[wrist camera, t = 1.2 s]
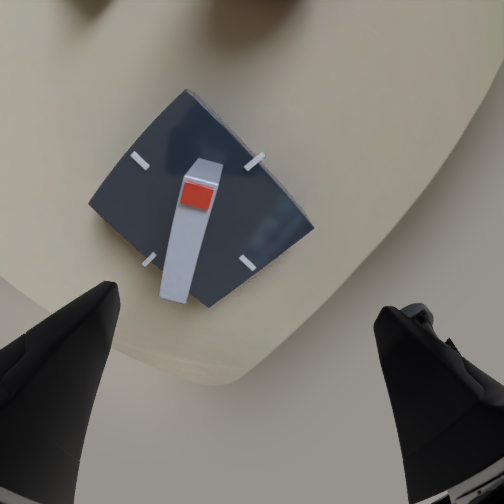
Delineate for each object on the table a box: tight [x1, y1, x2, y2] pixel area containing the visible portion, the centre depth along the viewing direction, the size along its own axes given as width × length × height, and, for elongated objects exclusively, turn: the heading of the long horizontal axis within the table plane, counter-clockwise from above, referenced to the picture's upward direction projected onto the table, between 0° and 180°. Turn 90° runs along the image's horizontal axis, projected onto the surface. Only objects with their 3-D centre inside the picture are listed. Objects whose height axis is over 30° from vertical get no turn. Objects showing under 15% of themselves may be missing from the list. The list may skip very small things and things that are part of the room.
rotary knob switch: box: [88, 89, 314, 308], centre depth 18 cm, size 12×11×3 cm
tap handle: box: [159, 158, 223, 304], centre depth 15 cm, size 7×2×5 cm, turn 161°
